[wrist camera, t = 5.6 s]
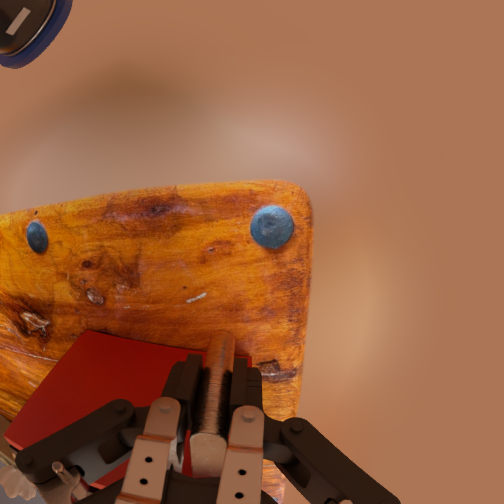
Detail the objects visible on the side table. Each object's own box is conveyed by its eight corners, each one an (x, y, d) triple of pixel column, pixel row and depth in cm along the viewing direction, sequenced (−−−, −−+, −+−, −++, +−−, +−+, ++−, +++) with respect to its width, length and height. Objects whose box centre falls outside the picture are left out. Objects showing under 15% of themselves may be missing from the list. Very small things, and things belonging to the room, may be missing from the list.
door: (78, 273, 21) (-38, 367, 7) (260, 298, 22) (274, 468, 8) (87, 337, 23) (8, 443, 9) (250, 365, 24) (252, 517, 10)
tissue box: (73, 464, 33) (49, 521, 18) (74, 477, 35) (53, 527, 20) (-1, 412, 30) (-34, 459, 15) (6, 432, 32) (-21, 474, 17)
